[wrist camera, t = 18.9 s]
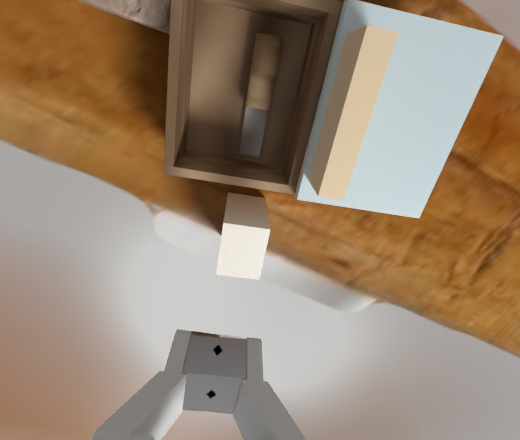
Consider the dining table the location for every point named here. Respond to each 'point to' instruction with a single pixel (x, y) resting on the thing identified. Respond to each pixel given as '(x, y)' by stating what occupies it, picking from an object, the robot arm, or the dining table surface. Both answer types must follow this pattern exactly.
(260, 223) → the block
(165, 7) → the brick
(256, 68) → the chisel
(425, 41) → the lid
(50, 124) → the dining table surface
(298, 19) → the dark wood box
